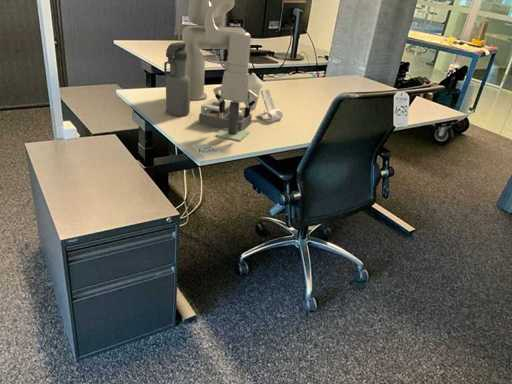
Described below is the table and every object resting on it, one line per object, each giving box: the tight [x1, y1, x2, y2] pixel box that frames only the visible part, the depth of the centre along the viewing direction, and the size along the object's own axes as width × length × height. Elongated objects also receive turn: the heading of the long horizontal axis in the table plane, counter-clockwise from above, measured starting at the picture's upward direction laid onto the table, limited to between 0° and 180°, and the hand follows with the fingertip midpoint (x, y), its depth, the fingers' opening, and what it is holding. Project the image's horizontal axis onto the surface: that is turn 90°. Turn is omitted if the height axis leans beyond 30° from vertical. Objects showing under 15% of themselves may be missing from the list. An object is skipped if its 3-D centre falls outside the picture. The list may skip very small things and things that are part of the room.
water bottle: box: [163, 41, 191, 117], centre depth 171 cm, size 10×10×28 cm
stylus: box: [228, 100, 240, 135], centre depth 158 cm, size 3×3×12 cm
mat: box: [215, 128, 250, 142], centre depth 161 cm, size 10×10×1 cm
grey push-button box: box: [198, 98, 253, 131], centre depth 170 cm, size 18×12×7 cm, turn 72°
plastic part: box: [254, 88, 284, 123], centre depth 180 cm, size 8×10×12 cm
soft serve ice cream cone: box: [249, 72, 263, 110], centre depth 190 cm, size 8×8×16 cm
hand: (234, 114), depth 158 cm, fingers open, 9 cm apart
